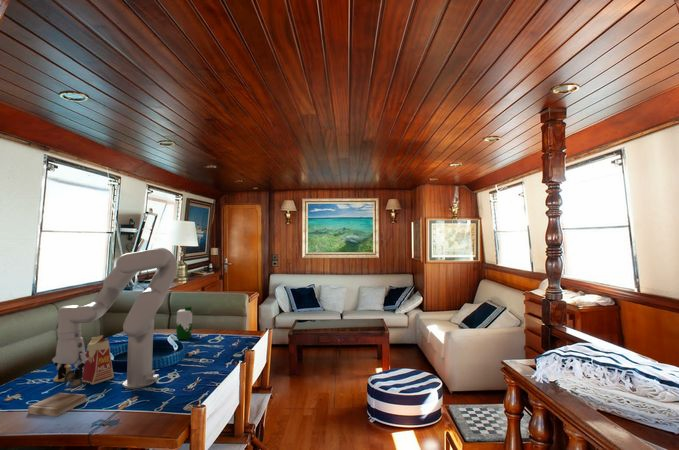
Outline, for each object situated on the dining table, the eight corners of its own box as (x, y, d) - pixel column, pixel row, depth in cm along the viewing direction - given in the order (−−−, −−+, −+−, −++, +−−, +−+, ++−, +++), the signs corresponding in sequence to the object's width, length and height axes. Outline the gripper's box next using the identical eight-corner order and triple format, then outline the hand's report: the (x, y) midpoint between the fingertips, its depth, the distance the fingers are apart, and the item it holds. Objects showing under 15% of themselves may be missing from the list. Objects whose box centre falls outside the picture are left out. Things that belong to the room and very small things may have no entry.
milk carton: (114, 377, 161) (115, 333, 162) (92, 385, 153) (94, 338, 154) (101, 374, 165) (102, 331, 166) (80, 381, 157) (81, 335, 158)
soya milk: (190, 339, 224) (191, 307, 225) (175, 340, 222) (175, 308, 223) (192, 336, 233) (193, 305, 234) (177, 337, 230) (178, 306, 231)
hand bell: (63, 382, 156) (64, 345, 156) (48, 381, 157) (49, 344, 158) (80, 375, 164) (81, 340, 164) (65, 374, 165) (67, 339, 166)
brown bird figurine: (55, 383, 145) (58, 385, 139) (66, 365, 149) (70, 366, 143) (75, 389, 149) (78, 390, 143) (85, 371, 153) (89, 372, 147)
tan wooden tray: (85, 401, 137) (86, 394, 137) (56, 416, 125) (56, 408, 125) (59, 399, 139) (59, 392, 139) (27, 413, 127) (28, 406, 127)
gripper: (95, 333, 150) (96, 375, 149) (60, 333, 153) (60, 374, 152) (80, 338, 143) (80, 382, 142) (43, 338, 145) (43, 381, 145)
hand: (70, 378), depth 147 cm, fingers closed on brown bird figurine, 7 cm apart
